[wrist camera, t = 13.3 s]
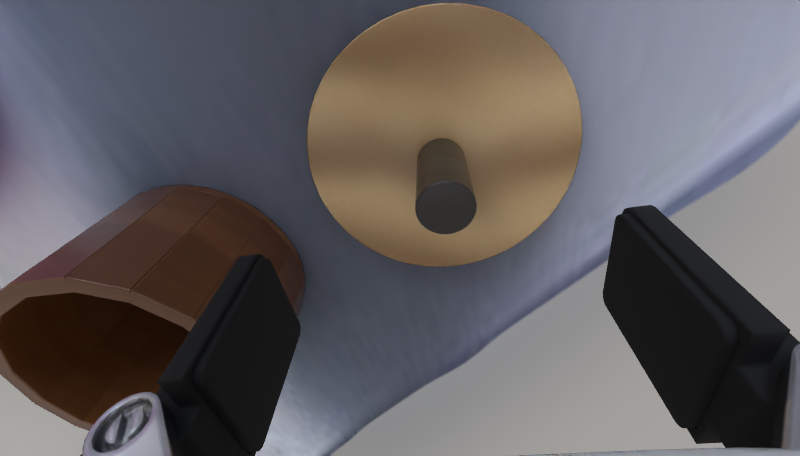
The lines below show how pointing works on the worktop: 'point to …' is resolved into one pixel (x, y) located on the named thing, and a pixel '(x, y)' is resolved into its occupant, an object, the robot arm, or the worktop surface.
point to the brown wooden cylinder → (129, 297)
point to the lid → (444, 134)
